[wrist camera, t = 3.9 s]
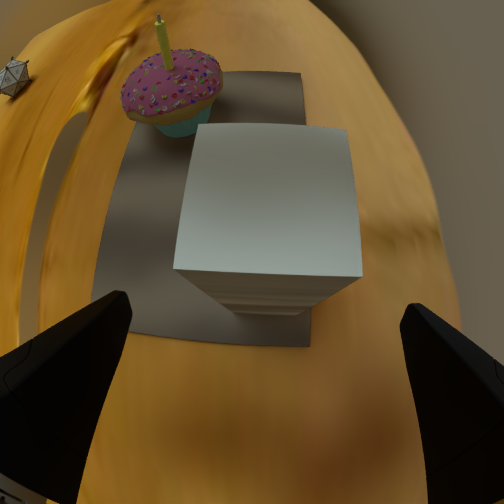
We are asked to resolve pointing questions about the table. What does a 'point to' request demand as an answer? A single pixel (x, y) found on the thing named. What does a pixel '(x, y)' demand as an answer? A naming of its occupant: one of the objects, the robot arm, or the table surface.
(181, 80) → the cupcake
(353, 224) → the gray board with column
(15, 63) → the game die
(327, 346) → the table surface
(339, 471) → the table surface
